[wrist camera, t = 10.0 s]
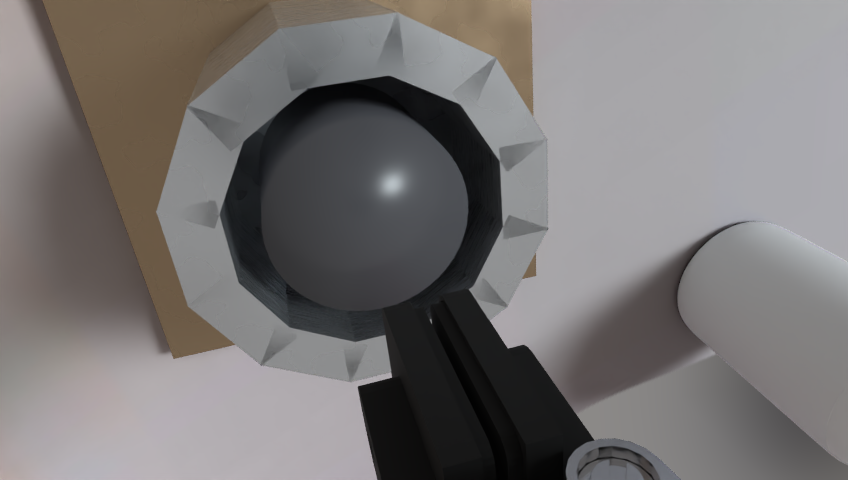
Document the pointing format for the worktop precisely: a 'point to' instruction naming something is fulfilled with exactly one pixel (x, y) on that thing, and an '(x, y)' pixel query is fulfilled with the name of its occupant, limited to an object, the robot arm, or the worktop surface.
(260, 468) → the worktop surface
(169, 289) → the ball socket mount
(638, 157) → the worktop surface
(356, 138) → the cap
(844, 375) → the pill bottle
